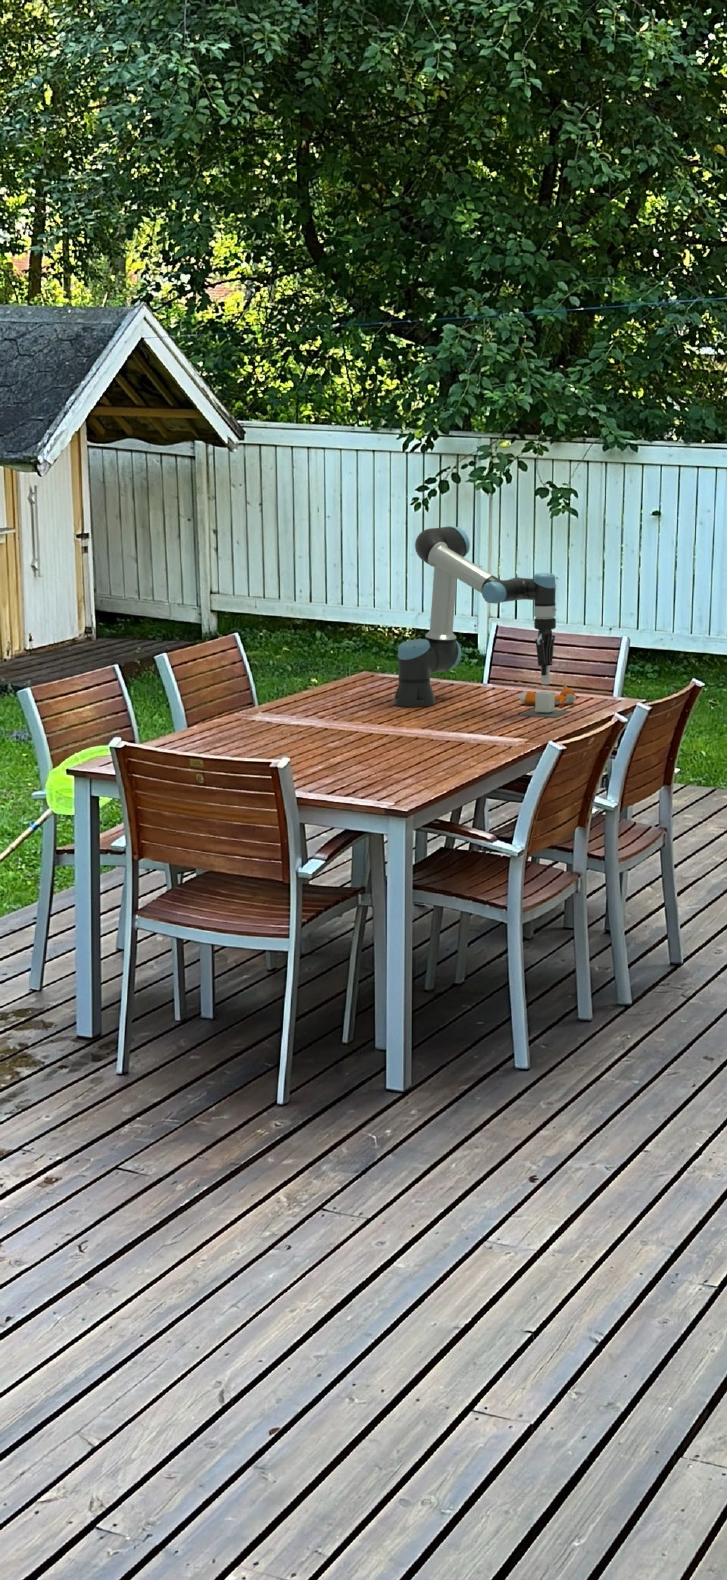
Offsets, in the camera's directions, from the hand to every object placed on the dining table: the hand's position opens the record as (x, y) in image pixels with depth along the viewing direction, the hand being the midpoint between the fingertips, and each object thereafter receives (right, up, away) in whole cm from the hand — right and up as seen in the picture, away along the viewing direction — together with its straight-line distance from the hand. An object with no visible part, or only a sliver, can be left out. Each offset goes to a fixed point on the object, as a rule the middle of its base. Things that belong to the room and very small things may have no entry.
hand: (545, 683), depth 636 cm
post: (0, -10, +2) cm, 11 cm away
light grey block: (0, -9, +2) cm, 10 cm away
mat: (0, -10, +2) cm, 11 cm away
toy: (+3, -7, +21) cm, 23 cm away
